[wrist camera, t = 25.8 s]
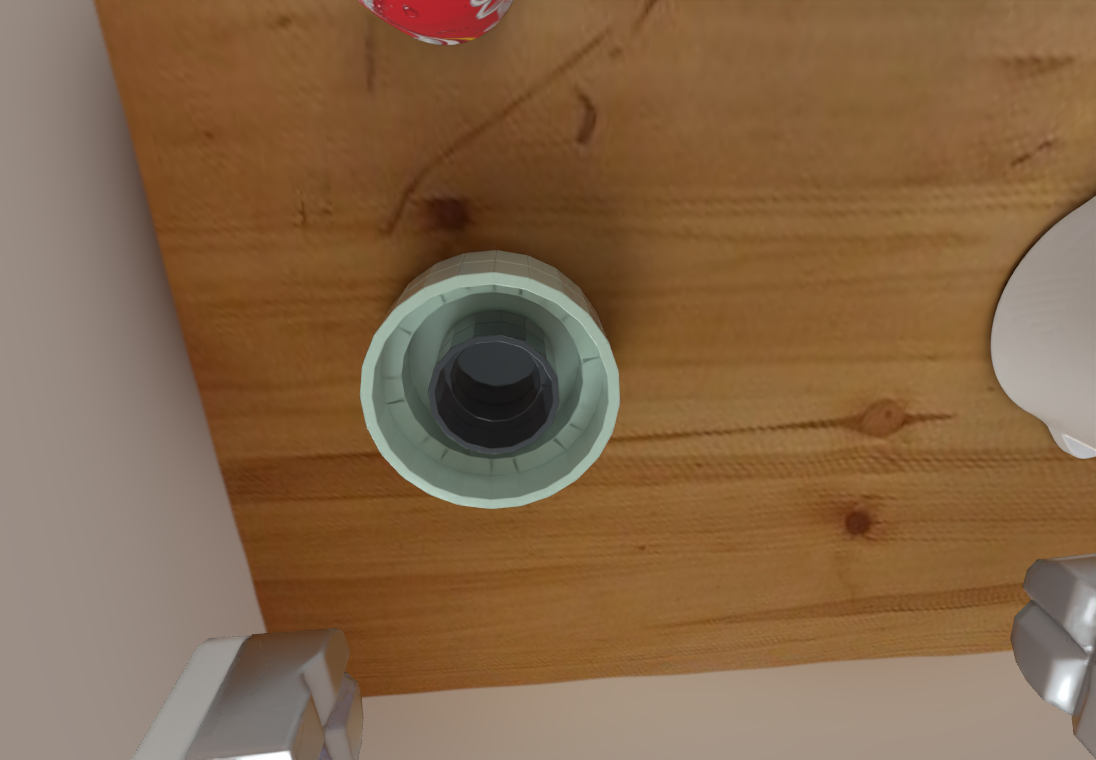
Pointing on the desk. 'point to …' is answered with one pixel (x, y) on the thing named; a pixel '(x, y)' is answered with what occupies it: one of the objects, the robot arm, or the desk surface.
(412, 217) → the desk surface
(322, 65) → the desk surface
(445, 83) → the desk surface
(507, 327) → the charcoal cup
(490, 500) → the celadon bowl
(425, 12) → the soda can
